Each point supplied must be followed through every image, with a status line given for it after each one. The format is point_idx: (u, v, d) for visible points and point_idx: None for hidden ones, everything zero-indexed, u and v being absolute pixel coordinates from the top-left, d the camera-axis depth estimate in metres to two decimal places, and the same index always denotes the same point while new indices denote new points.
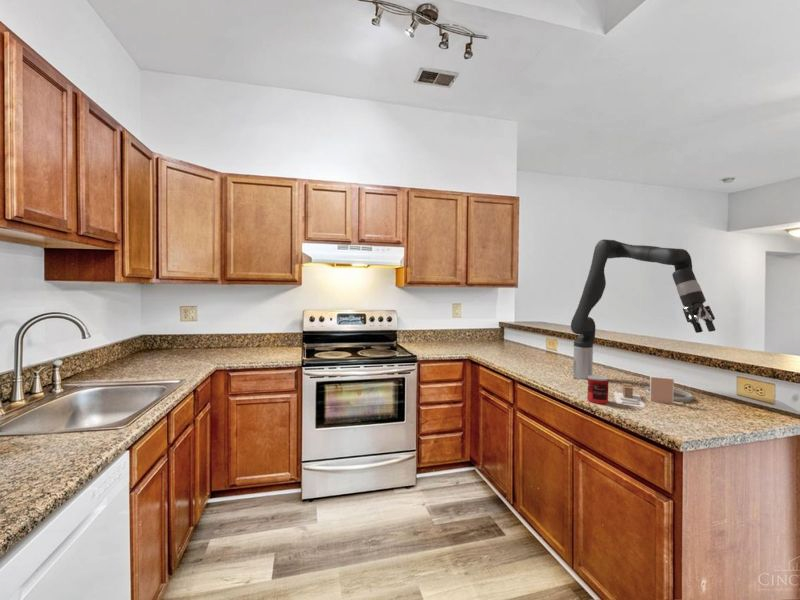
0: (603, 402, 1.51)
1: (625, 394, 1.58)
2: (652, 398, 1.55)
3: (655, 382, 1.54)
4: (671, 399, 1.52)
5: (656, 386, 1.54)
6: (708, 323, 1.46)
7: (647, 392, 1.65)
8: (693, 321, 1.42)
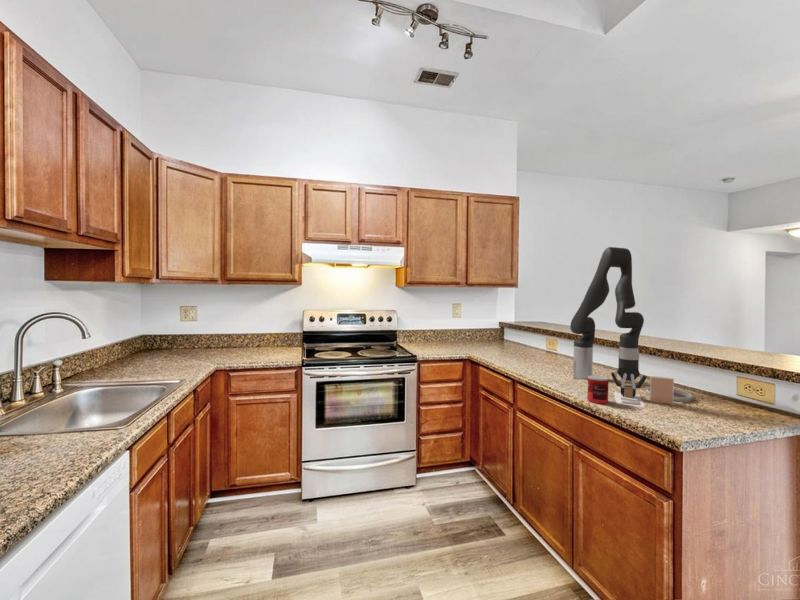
0: (603, 402, 1.51)
1: (625, 394, 1.58)
2: (652, 398, 1.55)
3: (655, 382, 1.54)
4: (671, 399, 1.52)
5: (656, 386, 1.54)
6: None
7: (647, 392, 1.65)
8: None
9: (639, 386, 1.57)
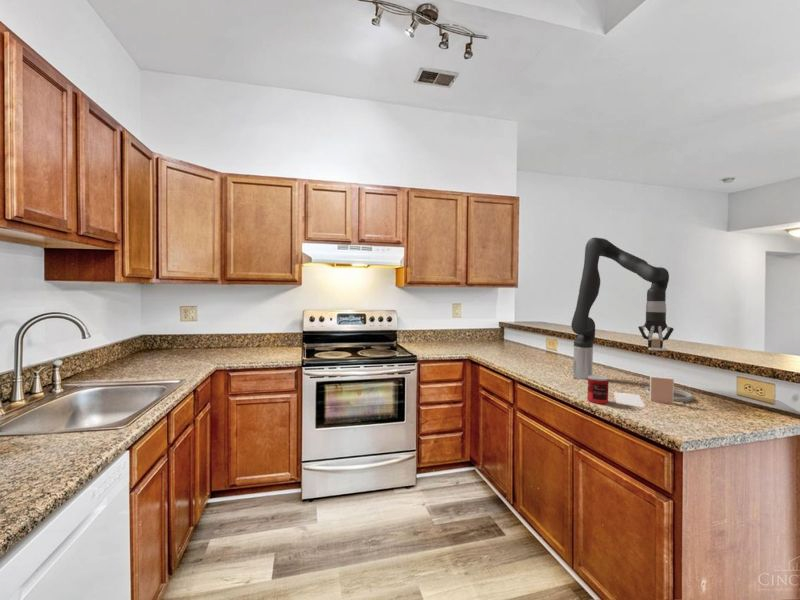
0: (603, 402, 1.51)
1: (653, 345, 1.65)
2: (652, 398, 1.55)
3: (655, 382, 1.54)
4: (671, 399, 1.52)
5: (656, 386, 1.54)
6: None
7: (647, 392, 1.65)
8: (645, 338, 1.68)
9: (666, 338, 1.63)
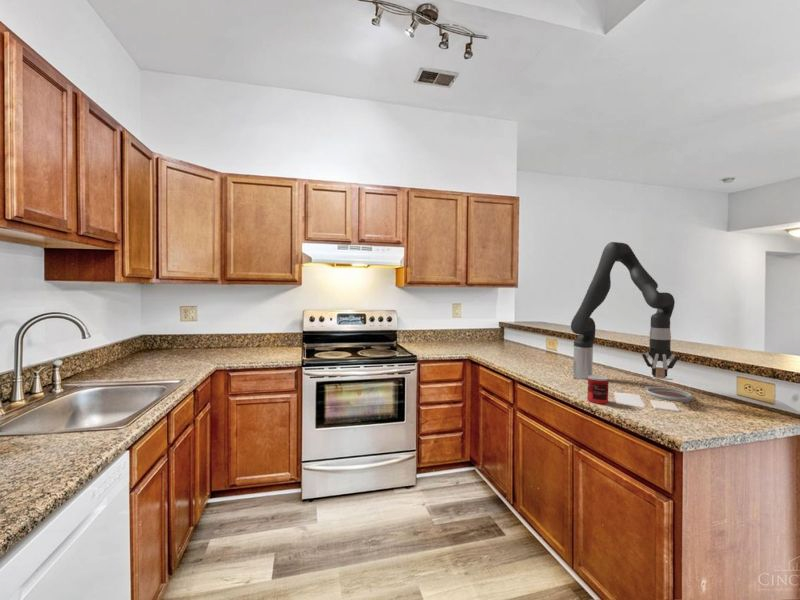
0: (603, 402, 1.51)
1: (657, 374, 1.58)
2: None
3: None
4: None
5: None
6: None
7: (647, 392, 1.65)
8: (649, 366, 1.61)
9: (671, 366, 1.57)
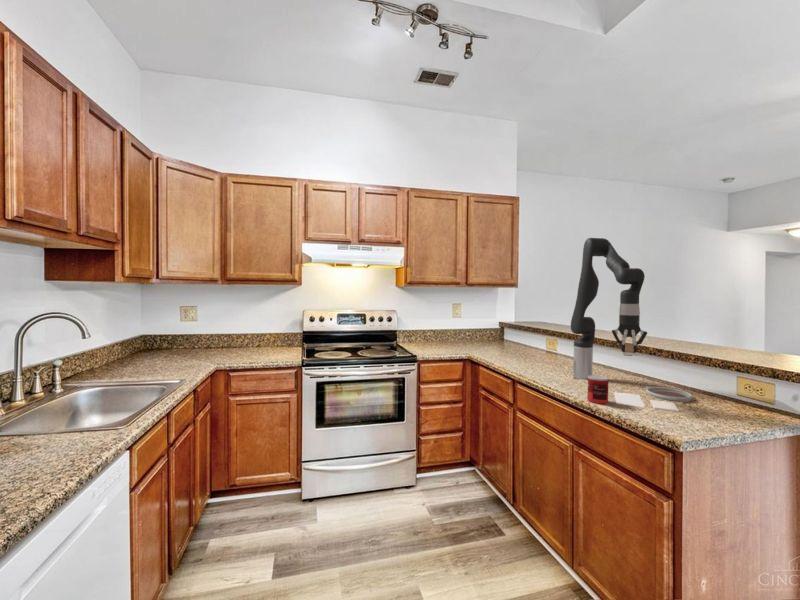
0: (603, 402, 1.51)
1: (626, 350, 1.58)
2: None
3: None
4: None
5: None
6: None
7: (647, 392, 1.65)
8: None
9: (640, 342, 1.57)
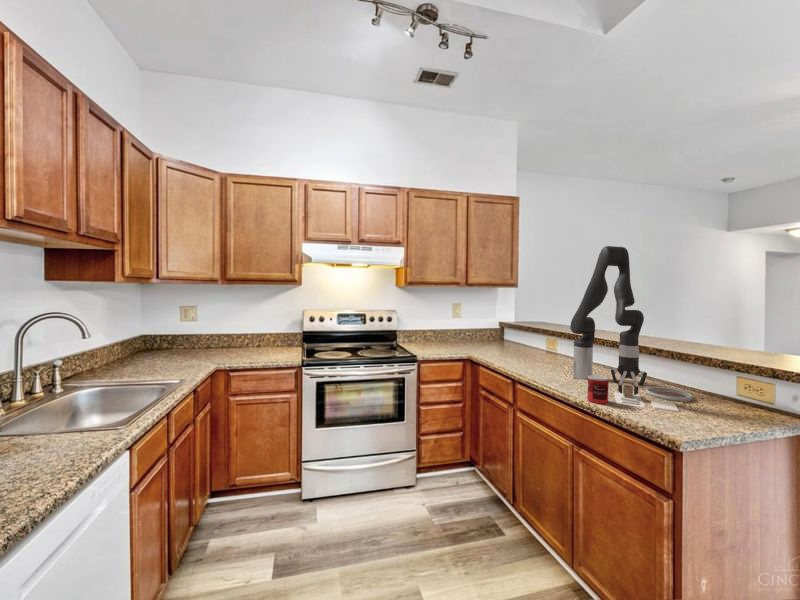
0: (603, 402, 1.51)
1: (625, 394, 1.58)
2: None
3: None
4: None
5: None
6: (634, 387, 1.59)
7: (647, 392, 1.65)
8: None
9: (642, 383, 1.57)
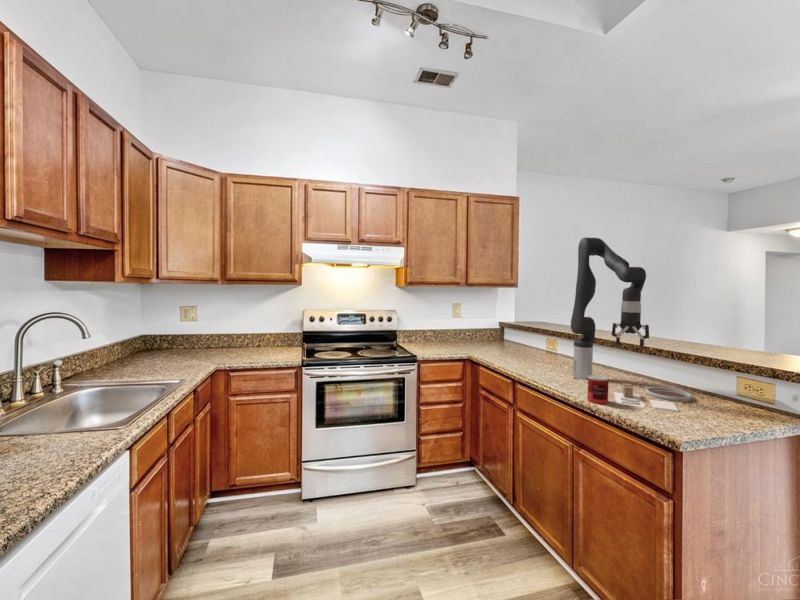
0: (603, 402, 1.51)
1: (625, 394, 1.58)
2: None
3: None
4: None
5: None
6: (640, 340, 1.63)
7: (647, 392, 1.65)
8: None
9: (647, 336, 1.61)
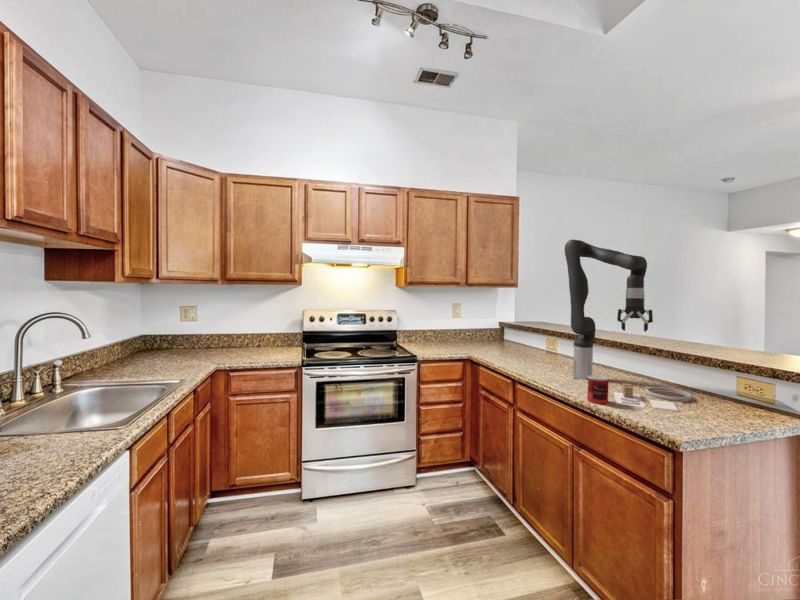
0: (603, 402, 1.51)
1: (625, 394, 1.58)
2: None
3: None
4: None
5: None
6: (644, 324, 1.74)
7: (647, 392, 1.65)
8: (619, 321, 1.78)
9: (651, 320, 1.71)
